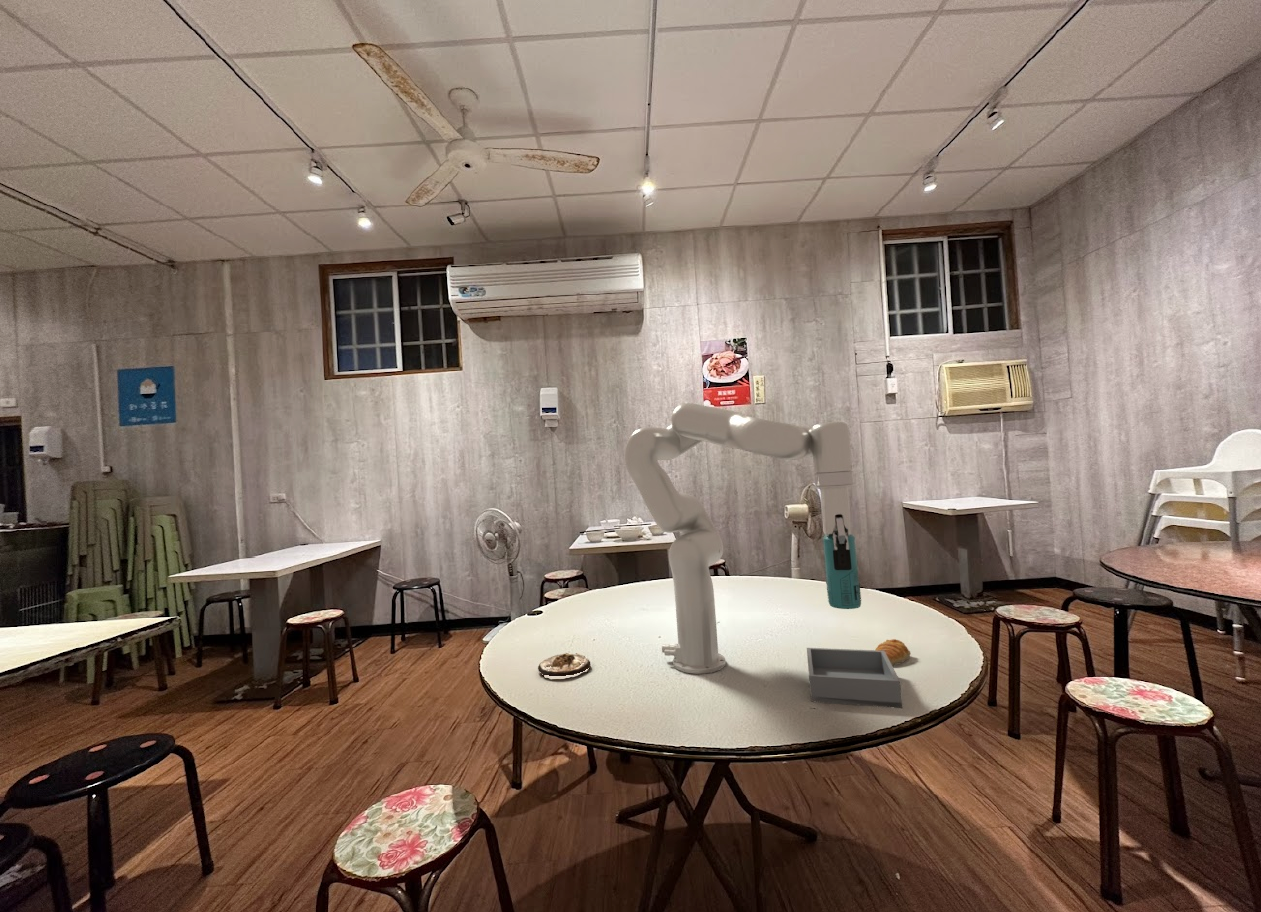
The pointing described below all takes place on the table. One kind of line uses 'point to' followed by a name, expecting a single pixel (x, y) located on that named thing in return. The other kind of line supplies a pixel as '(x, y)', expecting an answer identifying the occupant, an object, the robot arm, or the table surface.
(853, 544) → the beverage bottle
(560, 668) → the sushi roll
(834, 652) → the bin
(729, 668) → the table surface
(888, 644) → the pastry
